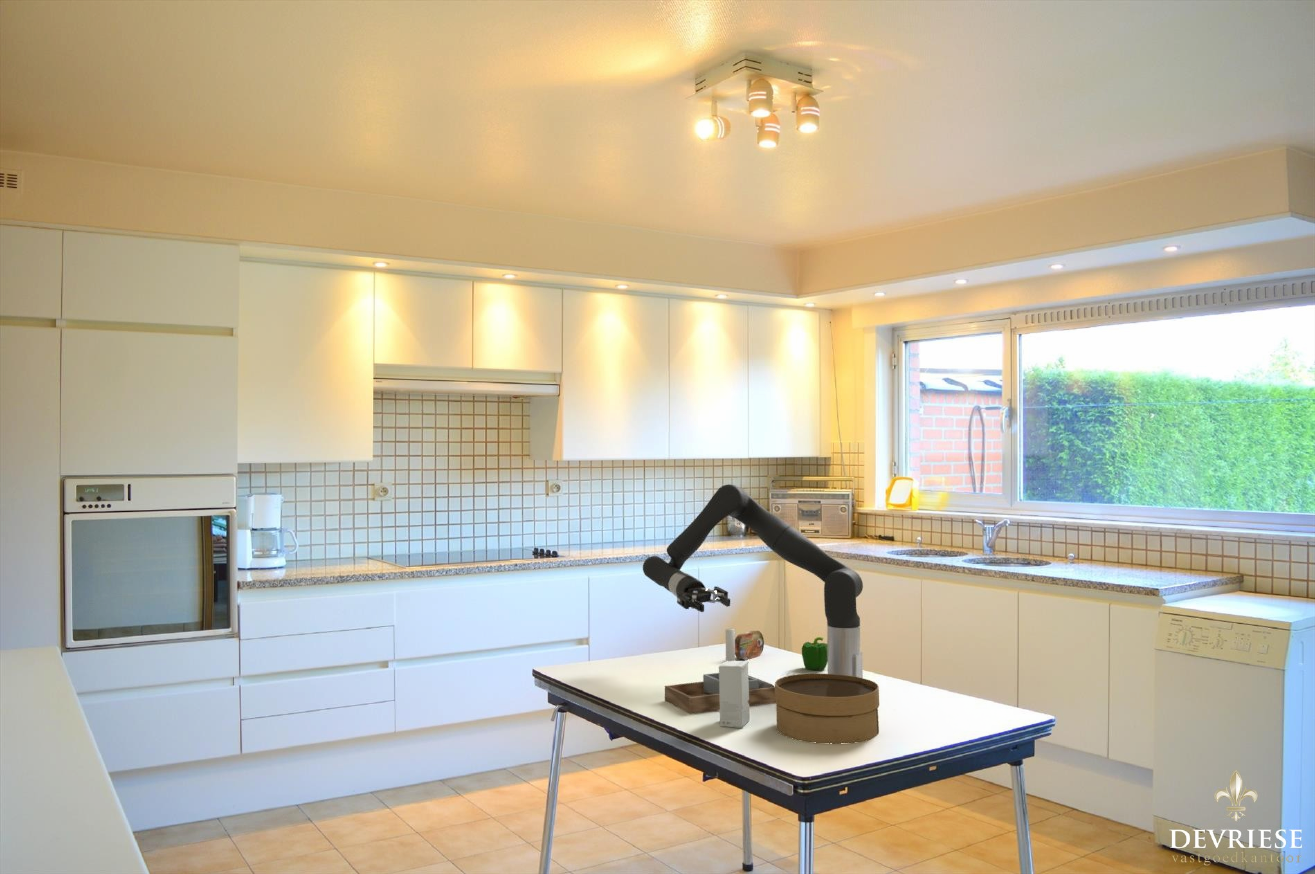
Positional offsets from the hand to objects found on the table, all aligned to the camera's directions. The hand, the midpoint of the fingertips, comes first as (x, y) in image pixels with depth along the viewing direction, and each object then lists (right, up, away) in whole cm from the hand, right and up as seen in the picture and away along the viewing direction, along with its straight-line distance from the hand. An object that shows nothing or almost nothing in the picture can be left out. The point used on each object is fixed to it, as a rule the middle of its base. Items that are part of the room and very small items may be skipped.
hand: (716, 605), depth 274 cm
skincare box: (+3, -23, -33) cm, 40 cm away
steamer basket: (+24, -23, -38) cm, 51 cm away
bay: (0, -24, -11) cm, 26 cm away
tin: (+13, -25, +47) cm, 55 cm away
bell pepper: (+32, -25, +29) cm, 50 cm away
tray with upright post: (+3, -23, -10) cm, 25 cm away
